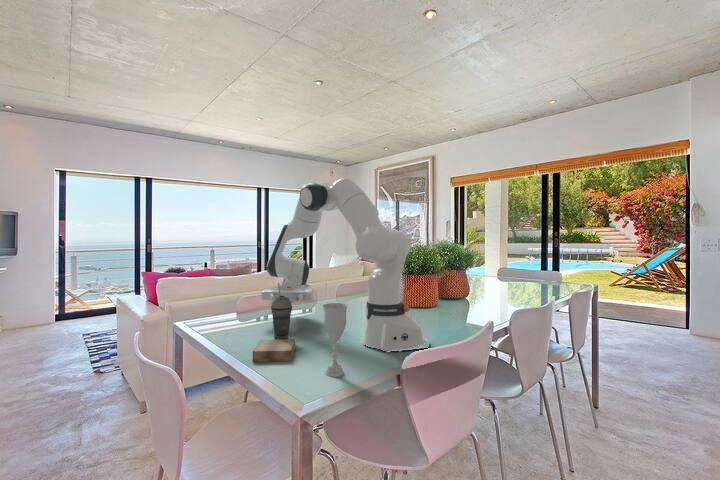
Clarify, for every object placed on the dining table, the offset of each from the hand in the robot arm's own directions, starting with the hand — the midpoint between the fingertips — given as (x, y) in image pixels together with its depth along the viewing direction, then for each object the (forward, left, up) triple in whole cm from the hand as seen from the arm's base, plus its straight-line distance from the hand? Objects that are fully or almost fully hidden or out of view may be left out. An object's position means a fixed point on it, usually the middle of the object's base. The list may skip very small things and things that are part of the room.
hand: (285, 298), depth 131 cm
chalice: (-18, +41, -13) cm, 47 cm away
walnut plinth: (0, +26, -12) cm, 29 cm away
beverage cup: (0, +12, -13) cm, 18 cm away
